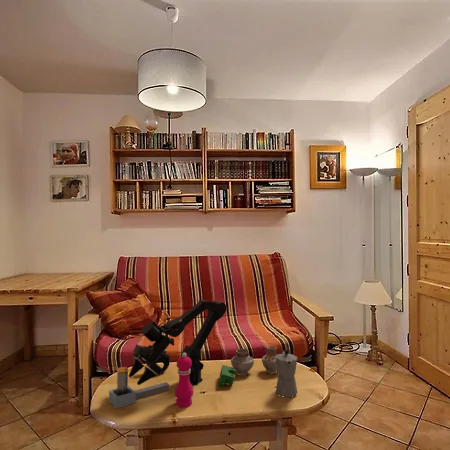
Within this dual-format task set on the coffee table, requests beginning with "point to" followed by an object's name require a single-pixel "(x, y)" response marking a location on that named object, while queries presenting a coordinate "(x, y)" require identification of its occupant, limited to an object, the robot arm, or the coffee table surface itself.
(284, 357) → the coffeepot
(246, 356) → the pottery
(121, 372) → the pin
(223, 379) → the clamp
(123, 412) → the coffee table surface
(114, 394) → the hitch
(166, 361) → the controller
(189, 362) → the pepper mill
